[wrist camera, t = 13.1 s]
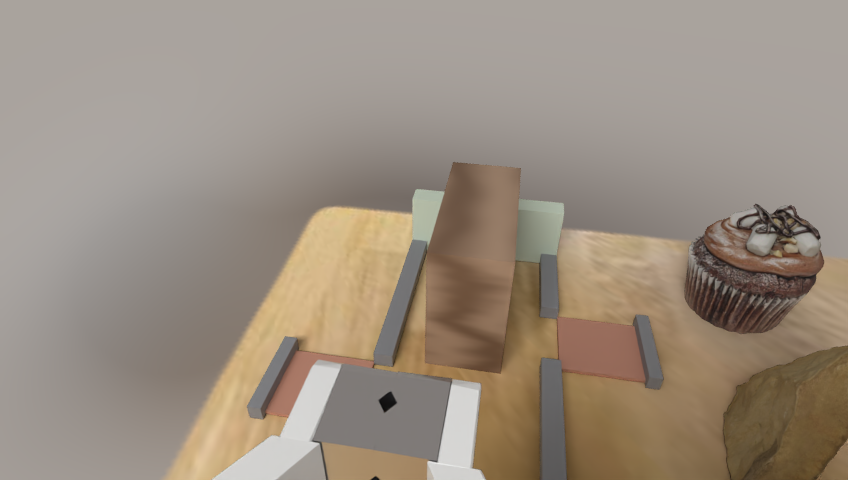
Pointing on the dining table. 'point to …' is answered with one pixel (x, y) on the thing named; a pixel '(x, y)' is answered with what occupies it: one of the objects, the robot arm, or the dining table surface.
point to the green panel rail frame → (577, 339)
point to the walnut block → (472, 267)
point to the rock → (789, 419)
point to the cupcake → (752, 269)
